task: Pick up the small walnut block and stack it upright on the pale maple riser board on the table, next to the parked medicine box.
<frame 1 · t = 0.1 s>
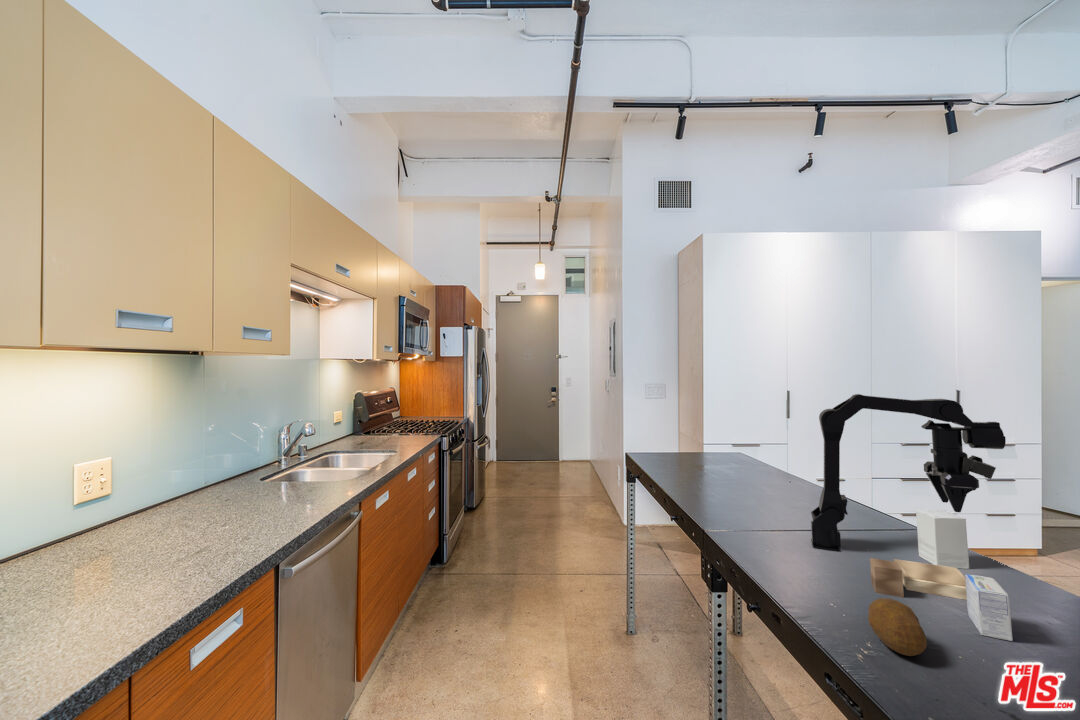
hand: (951, 507, 113), 15 cm above the table, fingers open, 9 cm apart
potato: (896, 645, 80), on the table
walnut block: (887, 590, 100), on the table
supplement box: (943, 563, 113), on the table
medicine box: (989, 629, 84), on the table
riser: (932, 583, 102), on the table
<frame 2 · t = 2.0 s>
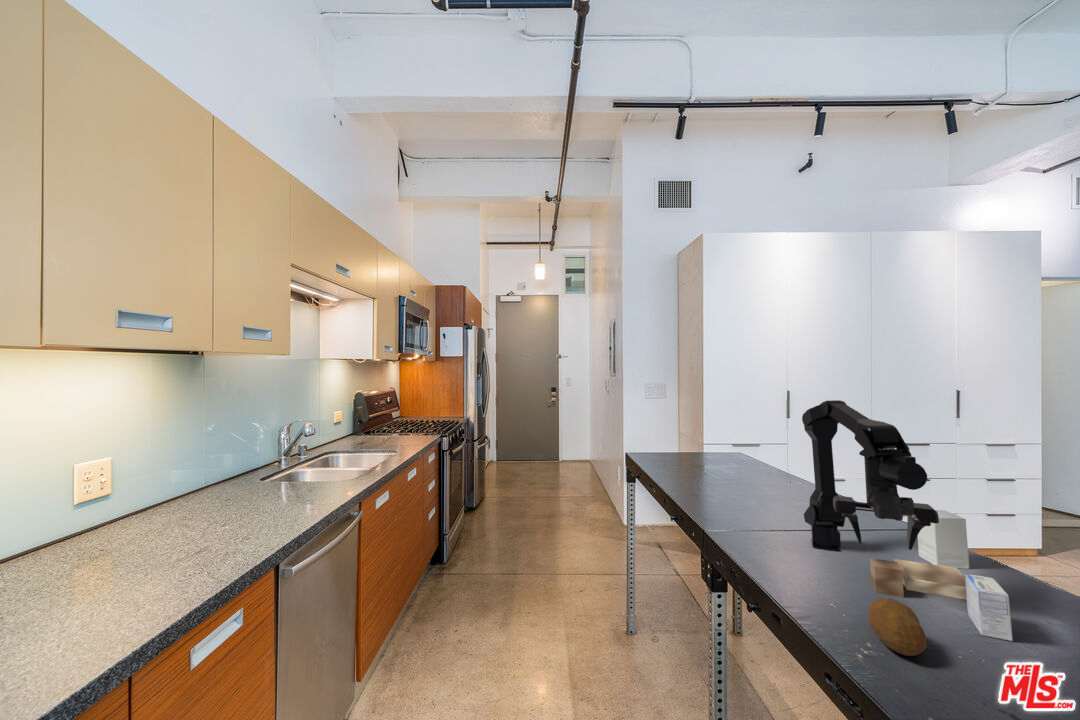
hand: (884, 545, 100), 10 cm above the table, fingers open, 9 cm apart
nothing on the table moved.
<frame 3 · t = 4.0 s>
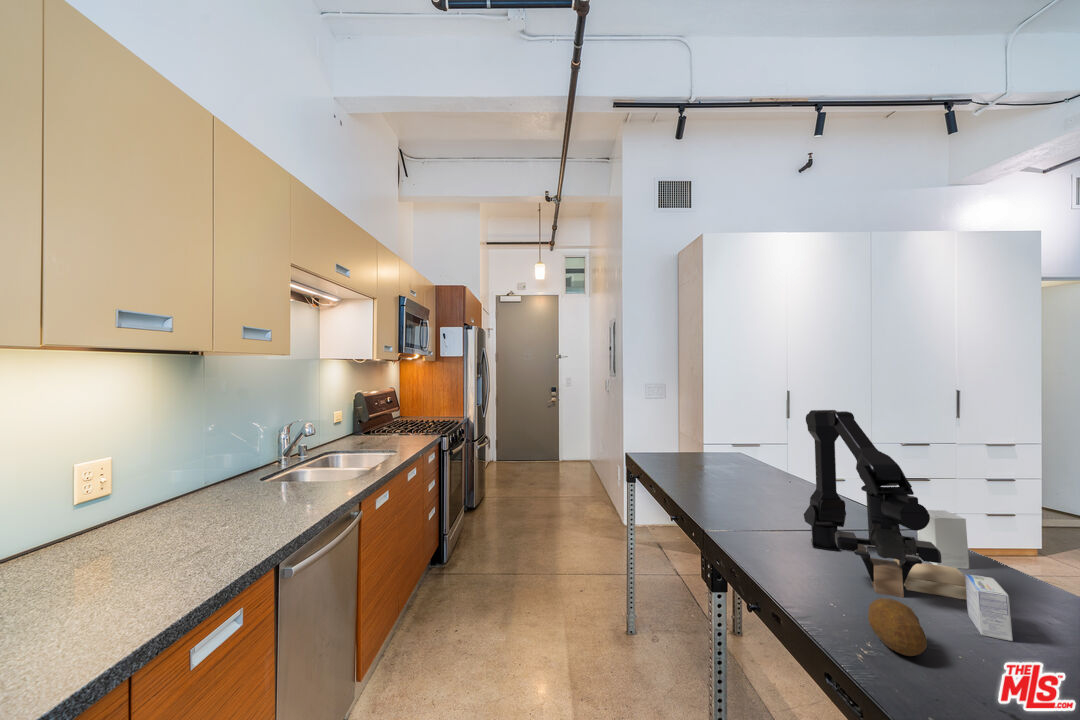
hand: (886, 583, 100), 2 cm above the table, fingers closed on walnut block, 5 cm apart
walnut block: (887, 590, 100), on the table, touching gripper
everything else where it was.
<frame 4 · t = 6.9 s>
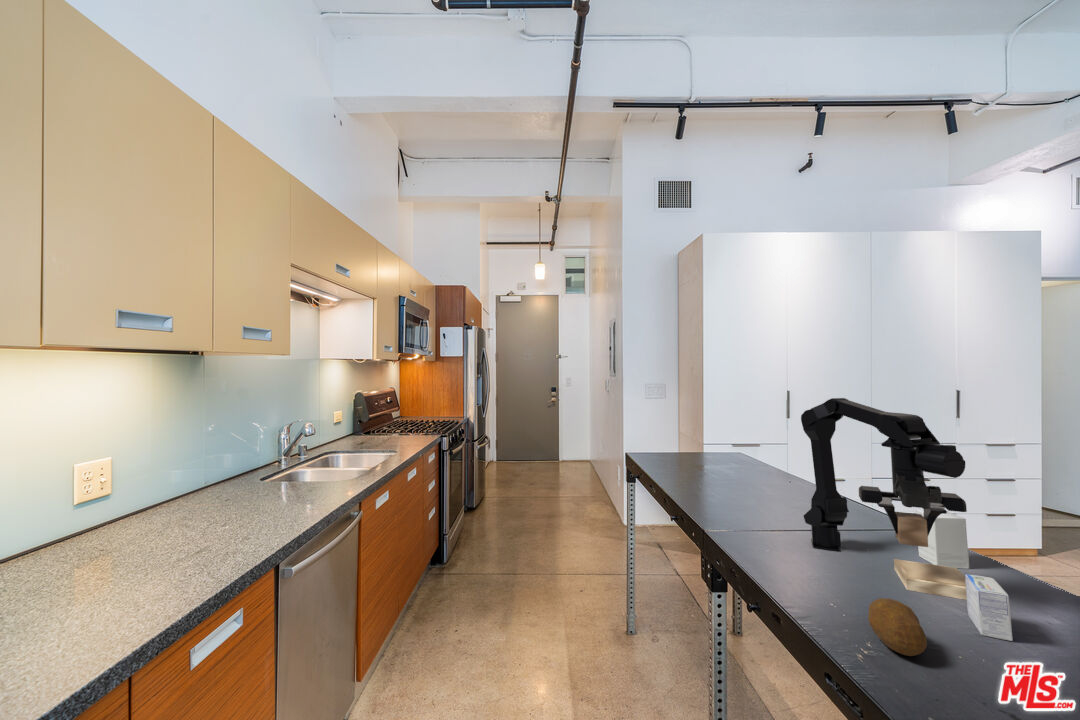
hand: (911, 534, 101), 12 cm above the table, fingers closed on walnut block, 5 cm apart
walnut block: (911, 541, 101), point 10 cm above the table, touching gripper
everything else where it was.
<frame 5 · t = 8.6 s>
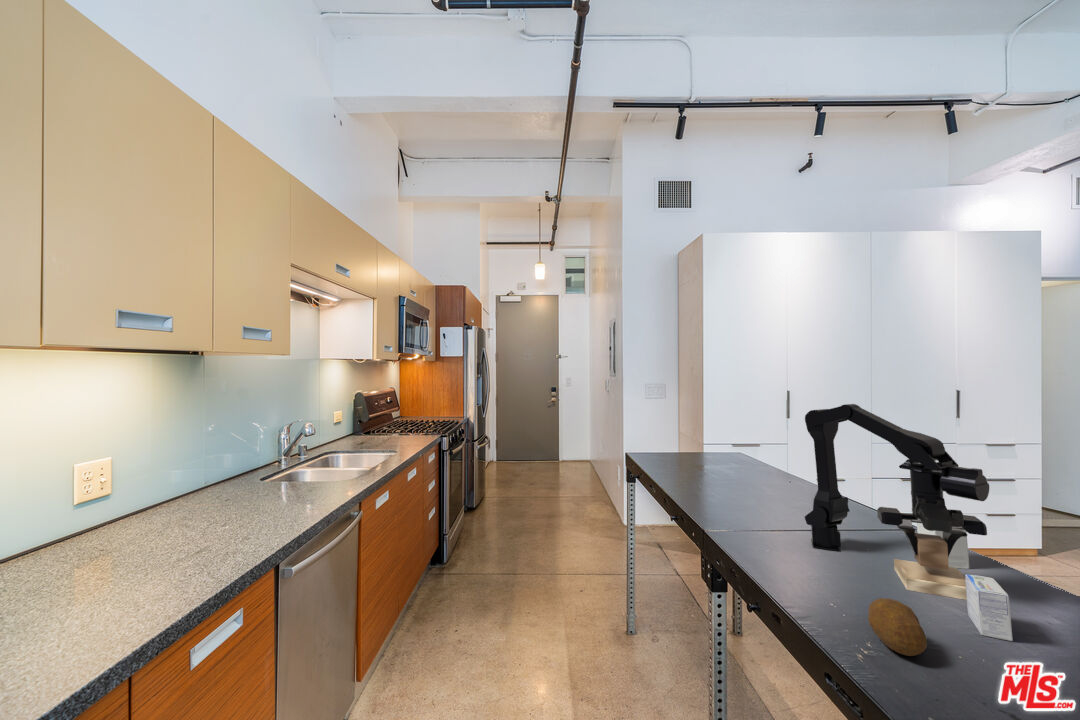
hand: (930, 556, 102), 6 cm above the table, fingers closed on walnut block, 5 cm apart
walnut block: (931, 563, 102), point 5 cm above the table, touching gripper
everything else where it was.
when the fingers open (5 cm above the table, at t = 9.8 s): walnut block drops 1 cm, resting on riser.
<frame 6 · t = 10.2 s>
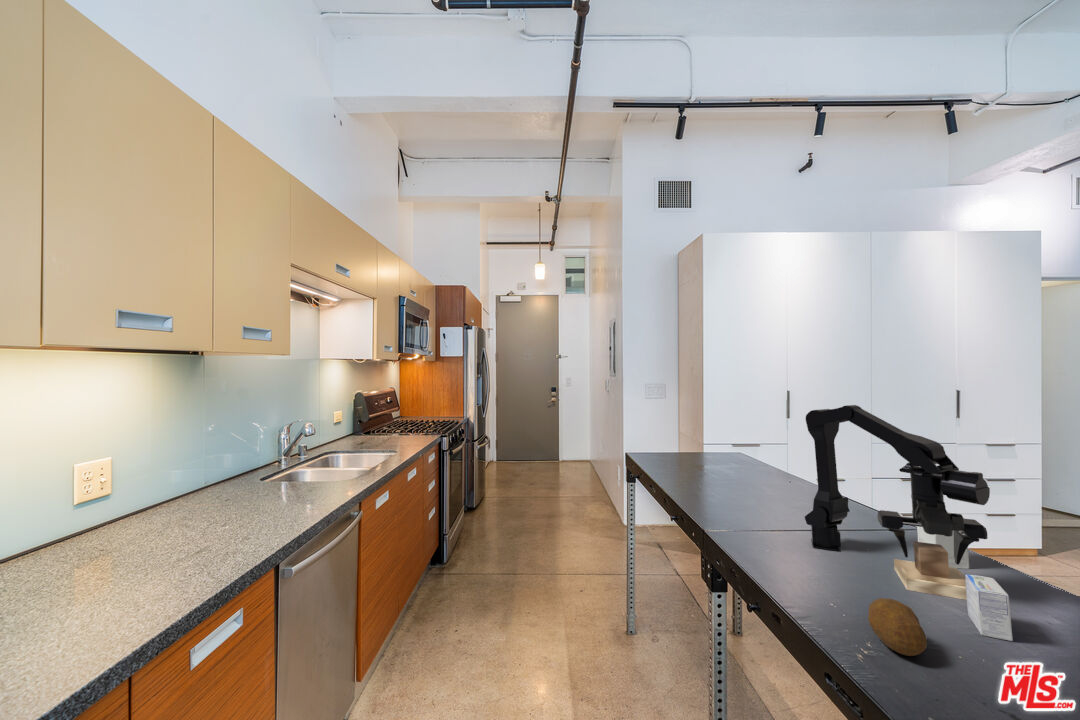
hand: (931, 560, 102), 5 cm above the table, fingers open, 9 cm apart
walnut block: (931, 572, 102), point 3 cm above the table, touching riser
everything else where it was.
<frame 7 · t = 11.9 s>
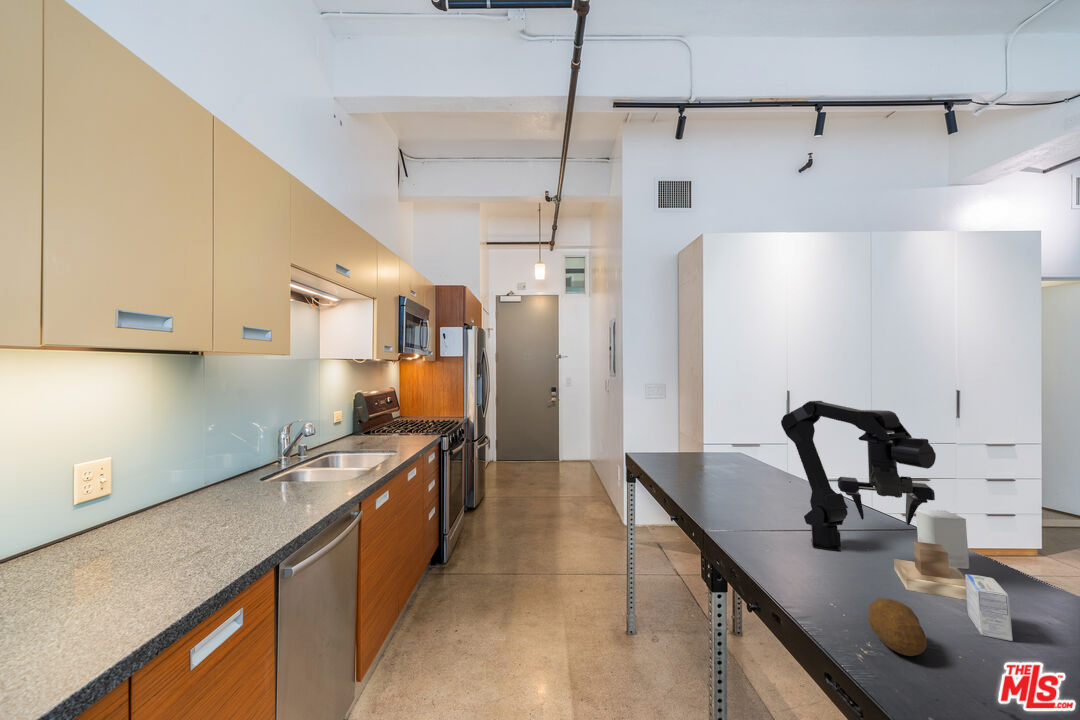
hand: (884, 521, 110), 12 cm above the table, fingers open, 9 cm apart
nothing on the table moved.
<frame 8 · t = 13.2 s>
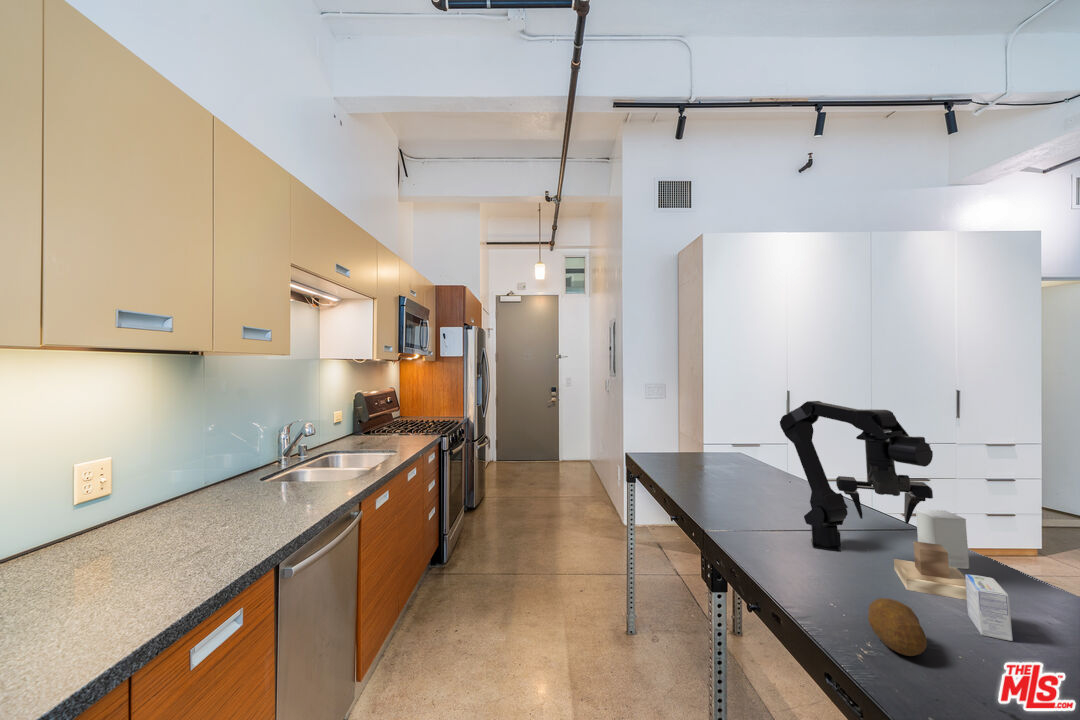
hand: (883, 520, 110), 13 cm above the table, fingers open, 9 cm apart
nothing on the table moved.
at the end: walnut block inside the target area on the riser (0.1 cm from its centre), point 2.7 cm above the riser's base; walnut block touching riser; walnut block tilted 0° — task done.
